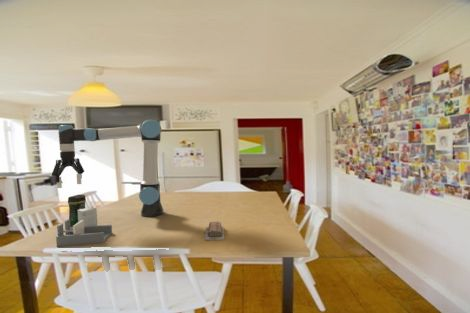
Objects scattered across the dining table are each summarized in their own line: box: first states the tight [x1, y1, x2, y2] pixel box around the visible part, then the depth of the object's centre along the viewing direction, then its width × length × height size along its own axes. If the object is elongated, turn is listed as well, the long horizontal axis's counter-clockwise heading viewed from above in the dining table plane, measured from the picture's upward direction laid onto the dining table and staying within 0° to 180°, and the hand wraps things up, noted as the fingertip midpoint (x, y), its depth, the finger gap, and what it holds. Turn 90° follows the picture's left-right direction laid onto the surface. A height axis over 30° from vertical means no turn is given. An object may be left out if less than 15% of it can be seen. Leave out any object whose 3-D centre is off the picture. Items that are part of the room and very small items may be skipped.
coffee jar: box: [67, 194, 87, 227], centre depth 162 cm, size 10×8×19 cm
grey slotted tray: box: [55, 218, 113, 247], centre depth 135 cm, size 22×14×10 cm, turn 99°
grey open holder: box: [63, 220, 85, 235], centre depth 134 cm, size 9×10×8 cm
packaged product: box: [204, 221, 225, 242], centre depth 137 cm, size 18×5×10 cm
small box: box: [78, 206, 99, 227], centre depth 148 cm, size 8×6×13 cm
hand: (69, 185), depth 157 cm, fingers open, 13 cm apart
